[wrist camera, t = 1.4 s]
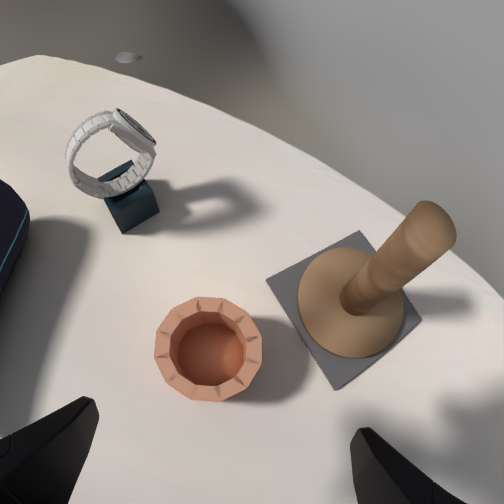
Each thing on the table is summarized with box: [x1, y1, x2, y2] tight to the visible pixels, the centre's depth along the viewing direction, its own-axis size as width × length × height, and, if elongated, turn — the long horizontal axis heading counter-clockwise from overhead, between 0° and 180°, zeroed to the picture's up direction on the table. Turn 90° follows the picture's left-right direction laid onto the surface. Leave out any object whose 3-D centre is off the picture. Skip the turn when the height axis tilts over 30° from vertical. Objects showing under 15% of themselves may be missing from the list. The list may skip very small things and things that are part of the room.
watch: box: [65, 108, 159, 234], centre depth 22 cm, size 6×8×11 cm
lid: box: [297, 201, 456, 359], centre depth 18 cm, size 10×10×12 cm
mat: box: [266, 230, 422, 390], centre depth 24 cm, size 11×11×1 cm
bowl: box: [154, 297, 262, 402], centre depth 19 cm, size 7×7×4 cm
